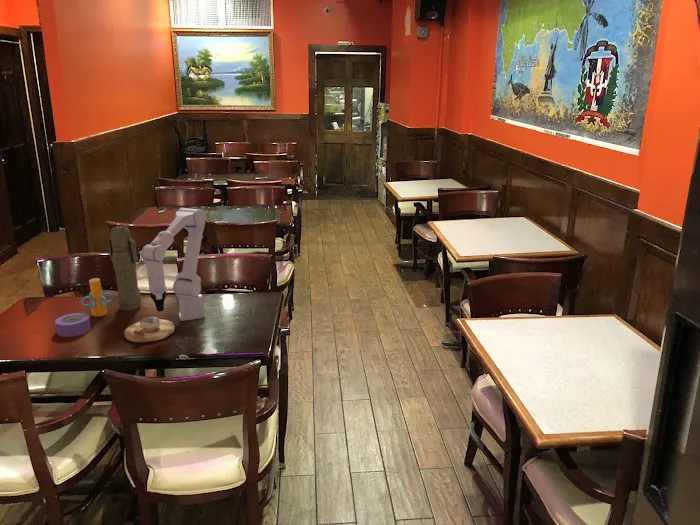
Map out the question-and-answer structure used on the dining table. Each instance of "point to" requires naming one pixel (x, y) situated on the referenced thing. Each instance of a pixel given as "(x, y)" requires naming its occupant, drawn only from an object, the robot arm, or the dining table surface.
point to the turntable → (138, 335)
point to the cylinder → (97, 298)
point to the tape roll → (73, 324)
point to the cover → (150, 324)
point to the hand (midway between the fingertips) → (160, 310)
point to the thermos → (125, 267)
